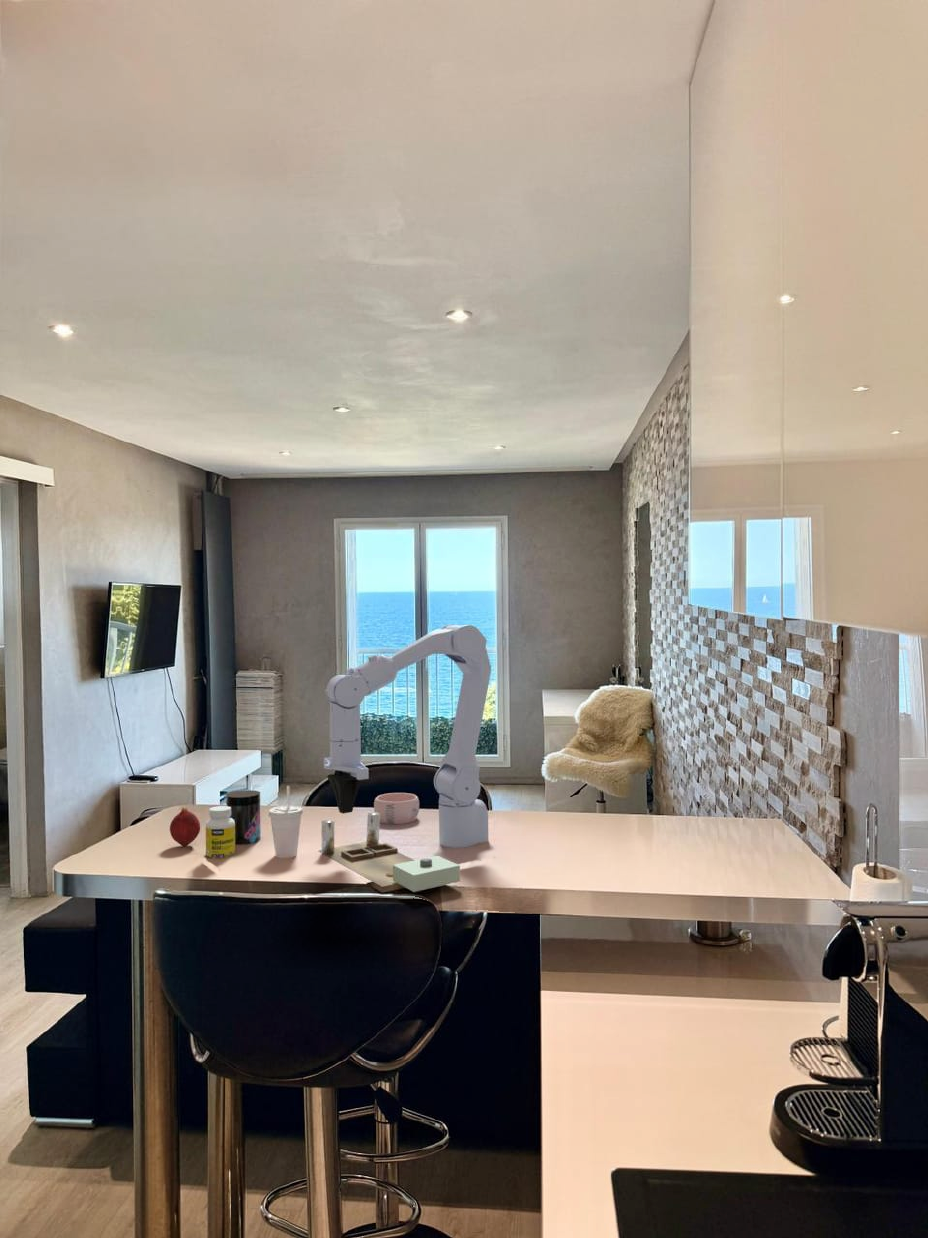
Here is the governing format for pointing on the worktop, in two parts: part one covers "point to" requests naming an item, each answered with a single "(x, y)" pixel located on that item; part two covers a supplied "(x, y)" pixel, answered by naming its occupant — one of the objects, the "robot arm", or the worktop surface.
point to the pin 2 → (373, 829)
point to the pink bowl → (397, 808)
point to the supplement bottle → (220, 833)
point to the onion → (184, 827)
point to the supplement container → (245, 815)
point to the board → (371, 863)
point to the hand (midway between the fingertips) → (345, 812)
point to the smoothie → (286, 828)
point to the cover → (426, 873)
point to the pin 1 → (328, 837)
